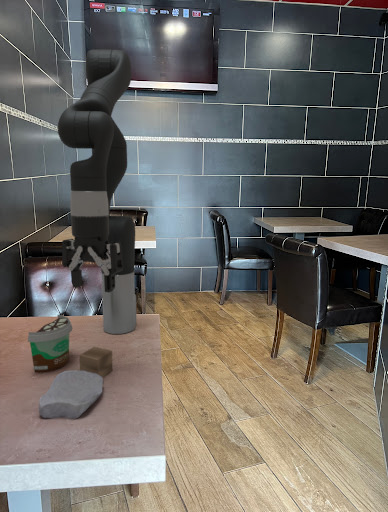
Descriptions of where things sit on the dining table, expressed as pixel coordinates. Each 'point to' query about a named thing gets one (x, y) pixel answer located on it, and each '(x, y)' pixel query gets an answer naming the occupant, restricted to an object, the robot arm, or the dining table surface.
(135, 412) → the dining table surface
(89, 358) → the walnut block
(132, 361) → the dining table surface
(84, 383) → the stone block
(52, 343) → the food container
